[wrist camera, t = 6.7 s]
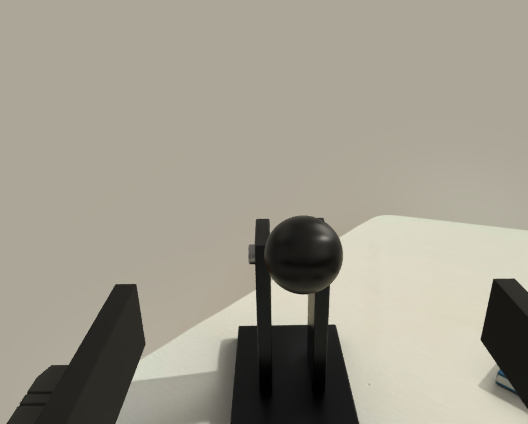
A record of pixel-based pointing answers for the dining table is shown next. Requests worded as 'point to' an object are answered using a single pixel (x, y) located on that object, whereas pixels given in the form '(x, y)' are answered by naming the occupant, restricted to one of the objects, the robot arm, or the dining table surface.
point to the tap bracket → (289, 361)
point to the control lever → (303, 255)
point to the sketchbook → (504, 381)
